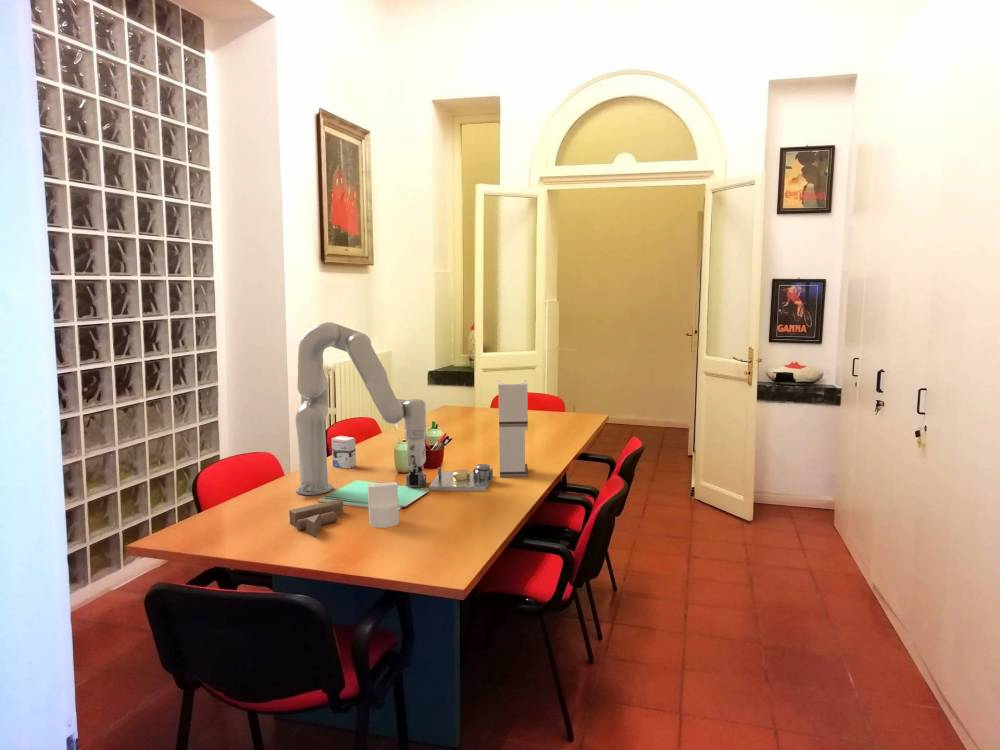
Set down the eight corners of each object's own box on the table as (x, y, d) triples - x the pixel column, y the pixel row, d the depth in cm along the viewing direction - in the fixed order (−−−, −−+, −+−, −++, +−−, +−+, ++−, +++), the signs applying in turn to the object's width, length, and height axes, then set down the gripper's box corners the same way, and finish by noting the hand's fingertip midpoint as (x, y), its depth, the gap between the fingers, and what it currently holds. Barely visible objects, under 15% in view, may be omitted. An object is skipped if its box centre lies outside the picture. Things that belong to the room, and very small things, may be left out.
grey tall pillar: (528, 476, 260) (527, 384, 256) (499, 477, 260) (498, 384, 256) (526, 468, 272) (525, 380, 267) (499, 469, 272) (498, 380, 267)
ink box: (332, 466, 280) (330, 438, 278) (340, 463, 284) (339, 435, 283) (348, 469, 276) (347, 440, 274) (356, 466, 280) (355, 437, 279)
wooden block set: (285, 507, 212) (339, 495, 224) (286, 525, 213) (340, 512, 225) (310, 520, 199) (365, 507, 211) (311, 539, 200) (366, 525, 212)
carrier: (489, 491, 243) (489, 473, 242) (429, 490, 245) (428, 472, 244) (495, 475, 263) (495, 458, 262) (439, 474, 265) (439, 458, 264)
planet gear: (423, 487, 248) (423, 473, 247) (404, 487, 249) (404, 473, 248) (427, 482, 255) (427, 468, 254) (409, 481, 255) (408, 468, 255)
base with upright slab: (370, 529, 207) (368, 490, 205) (367, 519, 216) (366, 482, 214) (400, 525, 209) (399, 487, 208) (397, 516, 218) (395, 479, 216)
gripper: (420, 439, 240) (421, 489, 243) (430, 429, 257) (431, 476, 260) (399, 439, 241) (400, 488, 243) (410, 428, 258) (411, 475, 260)
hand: (416, 481), depth 252 cm, fingers closed on planet gear, 7 cm apart
